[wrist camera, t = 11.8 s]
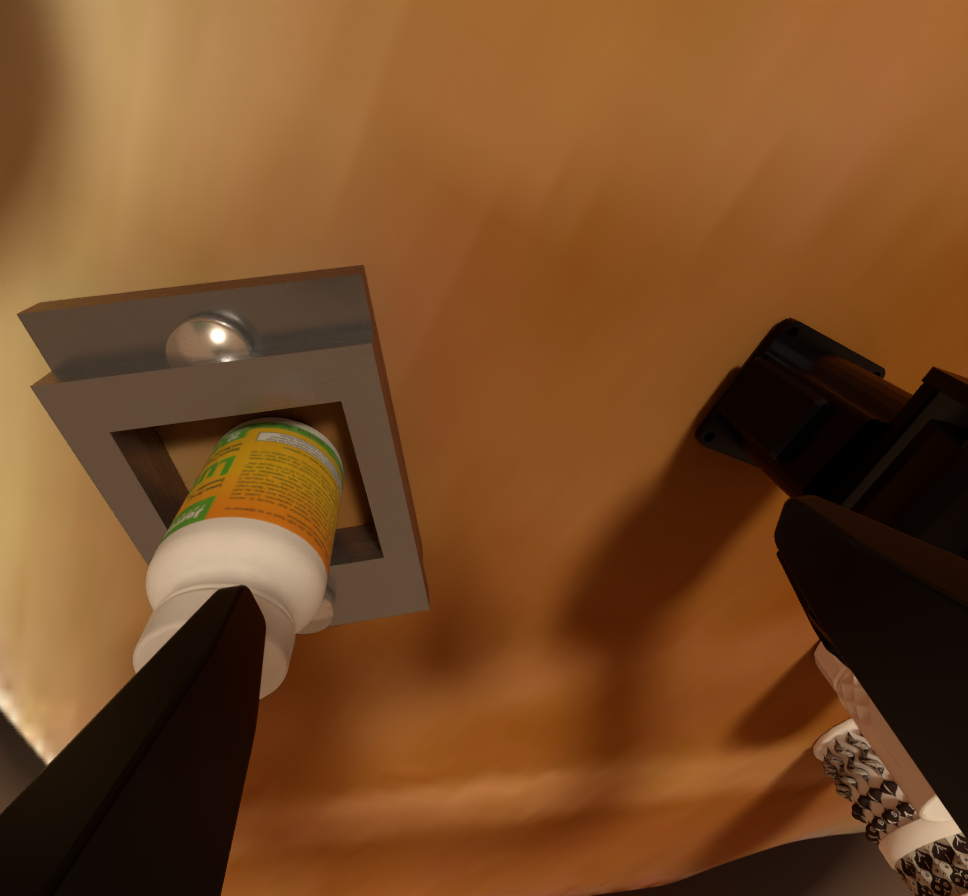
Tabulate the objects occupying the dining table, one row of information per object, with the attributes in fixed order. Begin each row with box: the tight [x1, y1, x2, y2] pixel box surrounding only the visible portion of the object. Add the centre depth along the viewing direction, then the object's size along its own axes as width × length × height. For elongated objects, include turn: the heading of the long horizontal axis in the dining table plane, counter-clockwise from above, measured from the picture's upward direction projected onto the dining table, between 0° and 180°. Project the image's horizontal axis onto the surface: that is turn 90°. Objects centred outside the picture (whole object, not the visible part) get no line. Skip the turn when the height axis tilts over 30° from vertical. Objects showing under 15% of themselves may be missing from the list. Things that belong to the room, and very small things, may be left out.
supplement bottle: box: [133, 417, 344, 699], centre depth 18 cm, size 5×5×10 cm
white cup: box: [814, 641, 954, 822], centre depth 32 cm, size 8×8×10 cm
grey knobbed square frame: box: [17, 265, 430, 634], centre depth 20 cm, size 16×11×3 cm
